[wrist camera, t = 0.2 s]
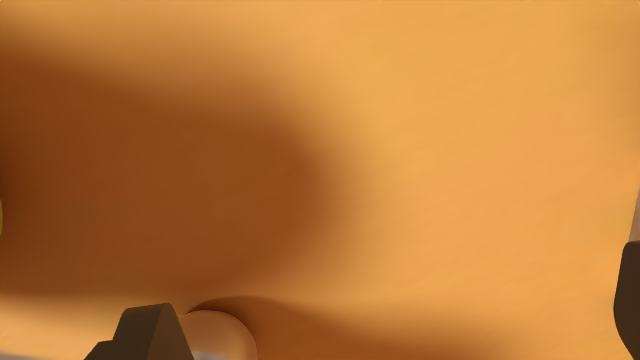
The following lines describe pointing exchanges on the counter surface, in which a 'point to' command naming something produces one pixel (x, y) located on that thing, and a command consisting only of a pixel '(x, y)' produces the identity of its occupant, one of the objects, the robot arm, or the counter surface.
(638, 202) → the crate
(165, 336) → the robot arm
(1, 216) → the flowerpot
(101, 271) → the counter surface
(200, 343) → the plastic bottle
